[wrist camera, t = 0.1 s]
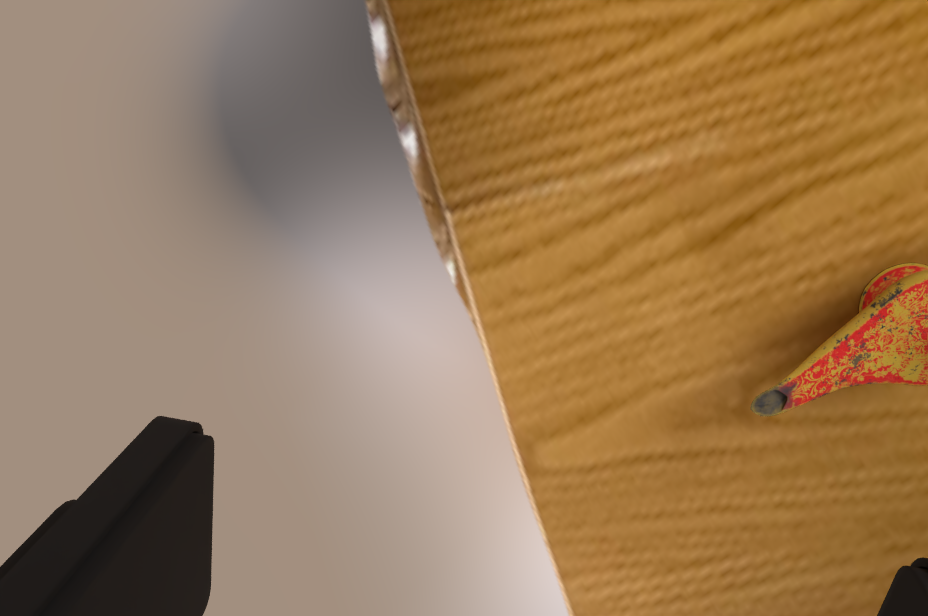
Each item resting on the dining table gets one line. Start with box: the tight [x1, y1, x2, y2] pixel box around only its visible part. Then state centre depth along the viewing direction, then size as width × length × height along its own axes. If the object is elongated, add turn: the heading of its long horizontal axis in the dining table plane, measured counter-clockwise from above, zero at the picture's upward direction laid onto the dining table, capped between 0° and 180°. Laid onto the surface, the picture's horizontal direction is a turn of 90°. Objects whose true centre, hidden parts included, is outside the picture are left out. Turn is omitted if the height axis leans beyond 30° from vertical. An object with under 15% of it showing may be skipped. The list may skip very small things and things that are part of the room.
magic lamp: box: [751, 263, 928, 416], centre depth 42 cm, size 7×18×11 cm, turn 113°
